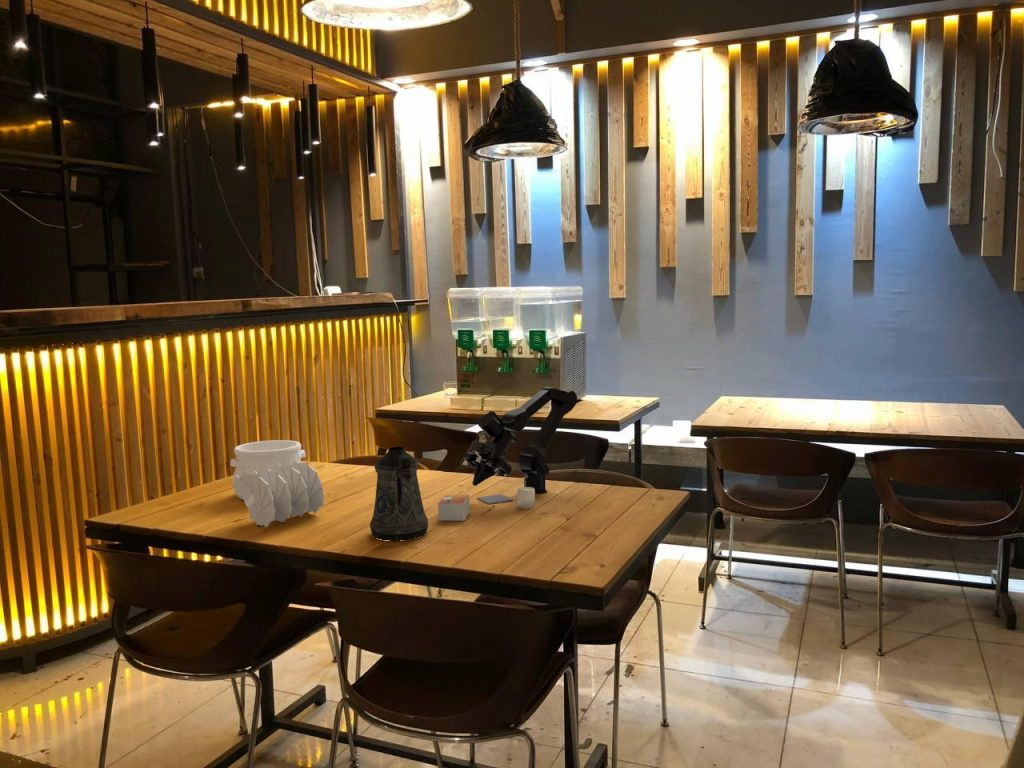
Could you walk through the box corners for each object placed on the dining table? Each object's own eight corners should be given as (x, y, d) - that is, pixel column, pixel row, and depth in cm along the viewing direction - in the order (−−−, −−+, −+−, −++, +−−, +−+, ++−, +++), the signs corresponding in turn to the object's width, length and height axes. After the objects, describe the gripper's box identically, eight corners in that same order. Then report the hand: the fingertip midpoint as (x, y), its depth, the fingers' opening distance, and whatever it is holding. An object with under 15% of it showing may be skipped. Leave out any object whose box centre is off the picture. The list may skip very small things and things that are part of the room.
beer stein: (401, 522, 248) (397, 440, 245) (448, 533, 235) (445, 446, 233) (358, 536, 235) (354, 449, 232) (405, 548, 223) (401, 456, 220)
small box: (469, 494, 257) (464, 503, 247) (470, 512, 258) (464, 521, 247) (444, 494, 258) (437, 502, 248) (444, 512, 259) (438, 521, 248)
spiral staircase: (324, 525, 261) (258, 541, 241) (291, 495, 270) (224, 509, 250) (341, 476, 256) (274, 489, 235) (306, 447, 264) (239, 457, 244)
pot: (292, 483, 305) (289, 436, 303) (320, 495, 285) (318, 445, 283) (221, 495, 289) (218, 445, 287) (246, 508, 270) (243, 455, 268)
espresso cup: (530, 502, 268) (529, 485, 268) (537, 507, 261) (536, 490, 260) (513, 503, 267) (513, 486, 266) (520, 509, 259) (519, 491, 259)
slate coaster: (501, 495, 278) (501, 494, 278) (513, 500, 270) (513, 499, 270) (477, 498, 274) (477, 497, 274) (488, 504, 266) (488, 503, 266)
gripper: (466, 428, 273) (441, 466, 267) (503, 434, 259) (477, 475, 253) (485, 447, 279) (461, 485, 273) (522, 454, 265) (498, 495, 259)
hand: (473, 485), depth 264 cm, fingers closed
